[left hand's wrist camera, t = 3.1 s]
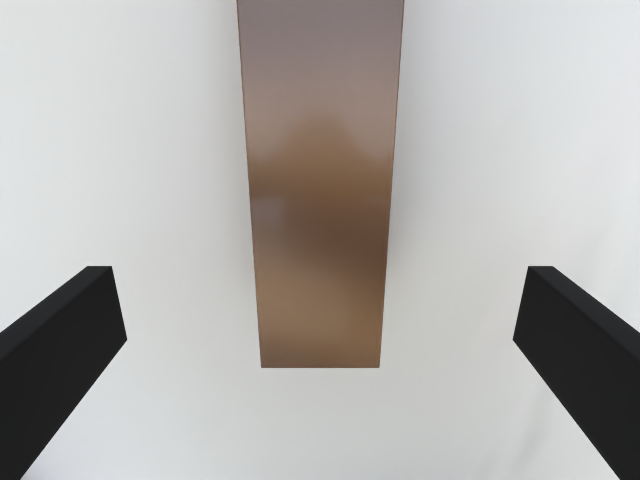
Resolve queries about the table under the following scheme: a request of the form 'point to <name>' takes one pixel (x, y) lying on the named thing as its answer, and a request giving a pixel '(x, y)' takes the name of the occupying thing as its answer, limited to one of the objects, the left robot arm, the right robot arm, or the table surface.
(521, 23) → the table surface
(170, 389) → the table surface
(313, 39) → the bar
